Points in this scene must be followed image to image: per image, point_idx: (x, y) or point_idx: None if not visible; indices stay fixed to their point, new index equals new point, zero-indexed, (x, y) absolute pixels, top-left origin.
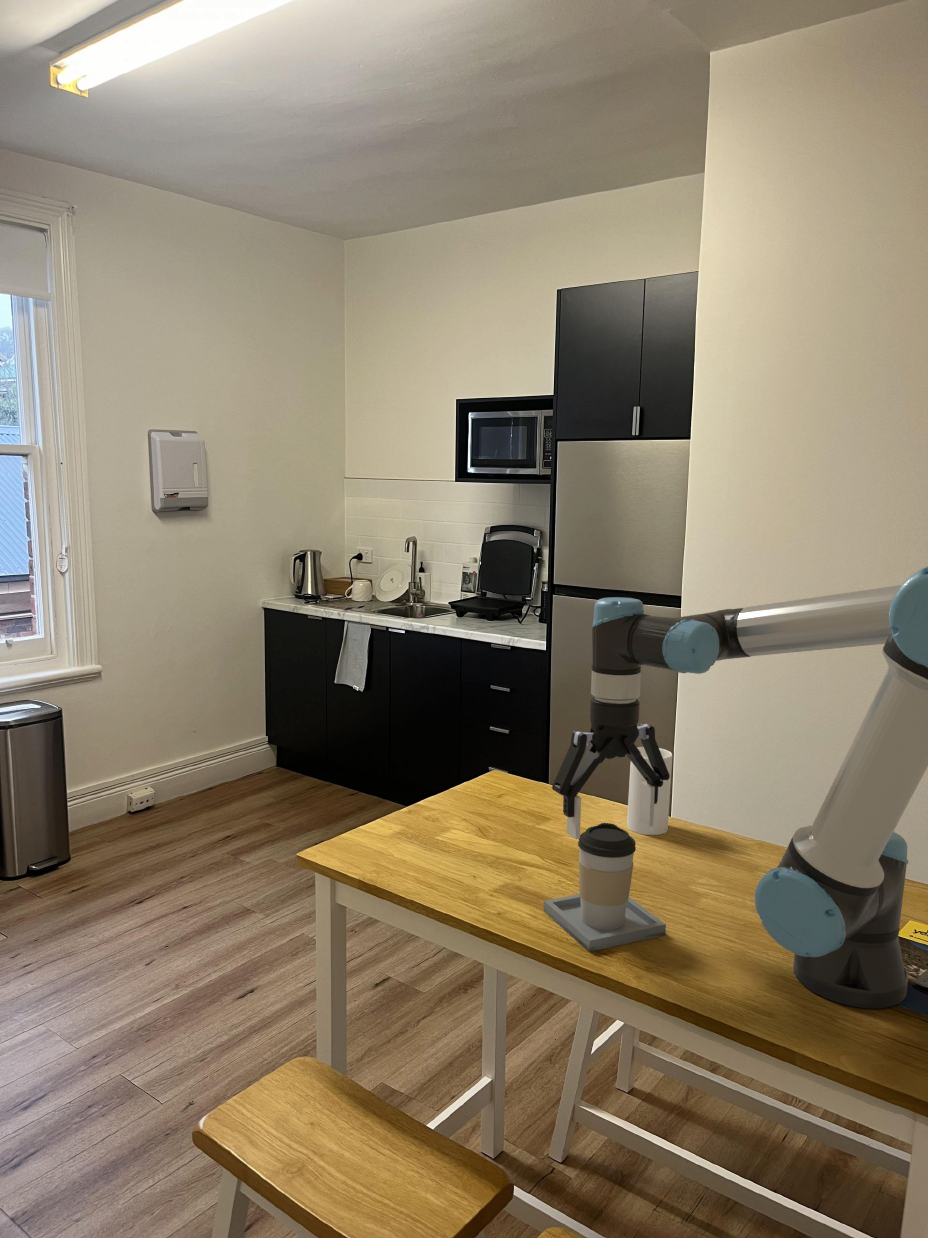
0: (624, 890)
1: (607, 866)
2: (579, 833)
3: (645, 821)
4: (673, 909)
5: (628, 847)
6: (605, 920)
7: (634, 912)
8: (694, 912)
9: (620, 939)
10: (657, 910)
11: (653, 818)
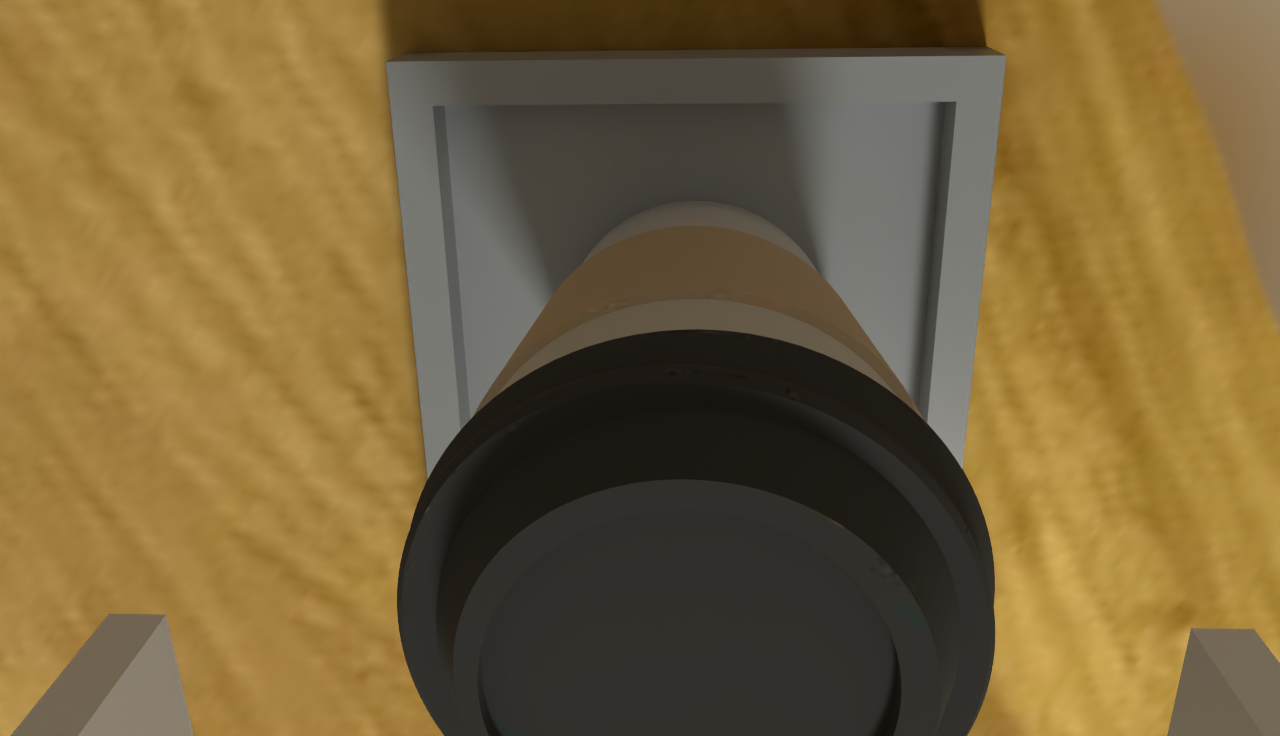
0: (637, 255)
1: (832, 350)
2: (1230, 673)
3: (163, 710)
4: (186, 313)
5: (585, 408)
6: (765, 227)
7: (461, 331)
8: (76, 236)
9: (753, 52)
10: (289, 337)
11: (56, 680)
